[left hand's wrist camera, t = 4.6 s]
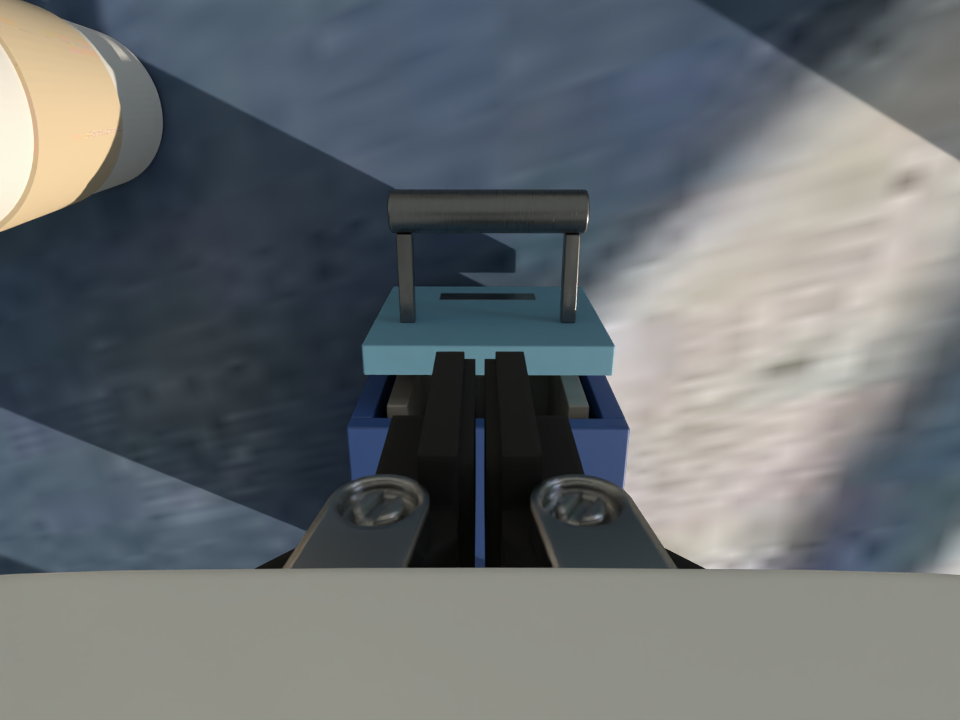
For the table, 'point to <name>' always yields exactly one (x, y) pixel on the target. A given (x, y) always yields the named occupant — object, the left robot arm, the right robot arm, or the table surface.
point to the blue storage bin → (594, 438)
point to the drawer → (489, 303)
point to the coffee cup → (68, 113)
